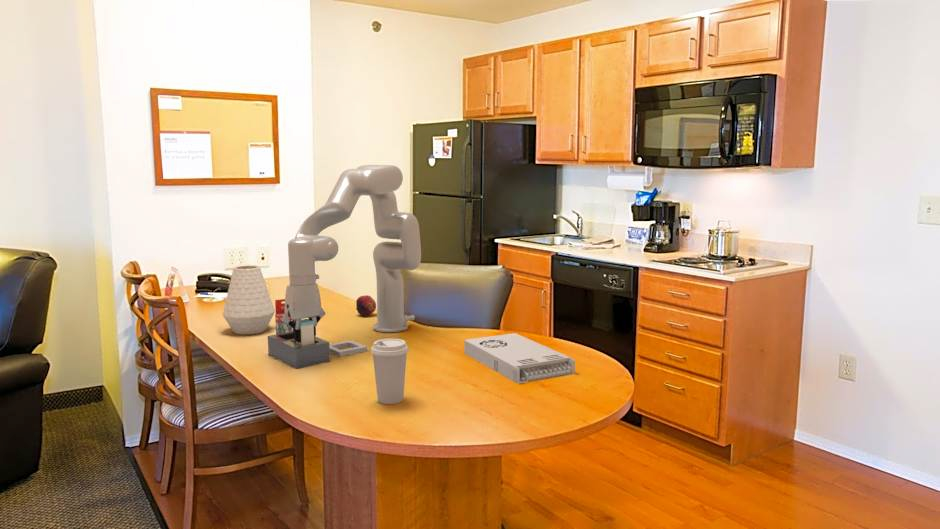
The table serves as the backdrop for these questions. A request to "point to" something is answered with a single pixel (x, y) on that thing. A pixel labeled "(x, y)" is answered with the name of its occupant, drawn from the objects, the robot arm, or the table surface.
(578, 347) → the table surface
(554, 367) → the power supply unit
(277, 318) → the ink box
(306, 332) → the plug
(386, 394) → the coffee cup
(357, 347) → the white square frame
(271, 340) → the port block
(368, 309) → the fruit
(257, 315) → the vase
